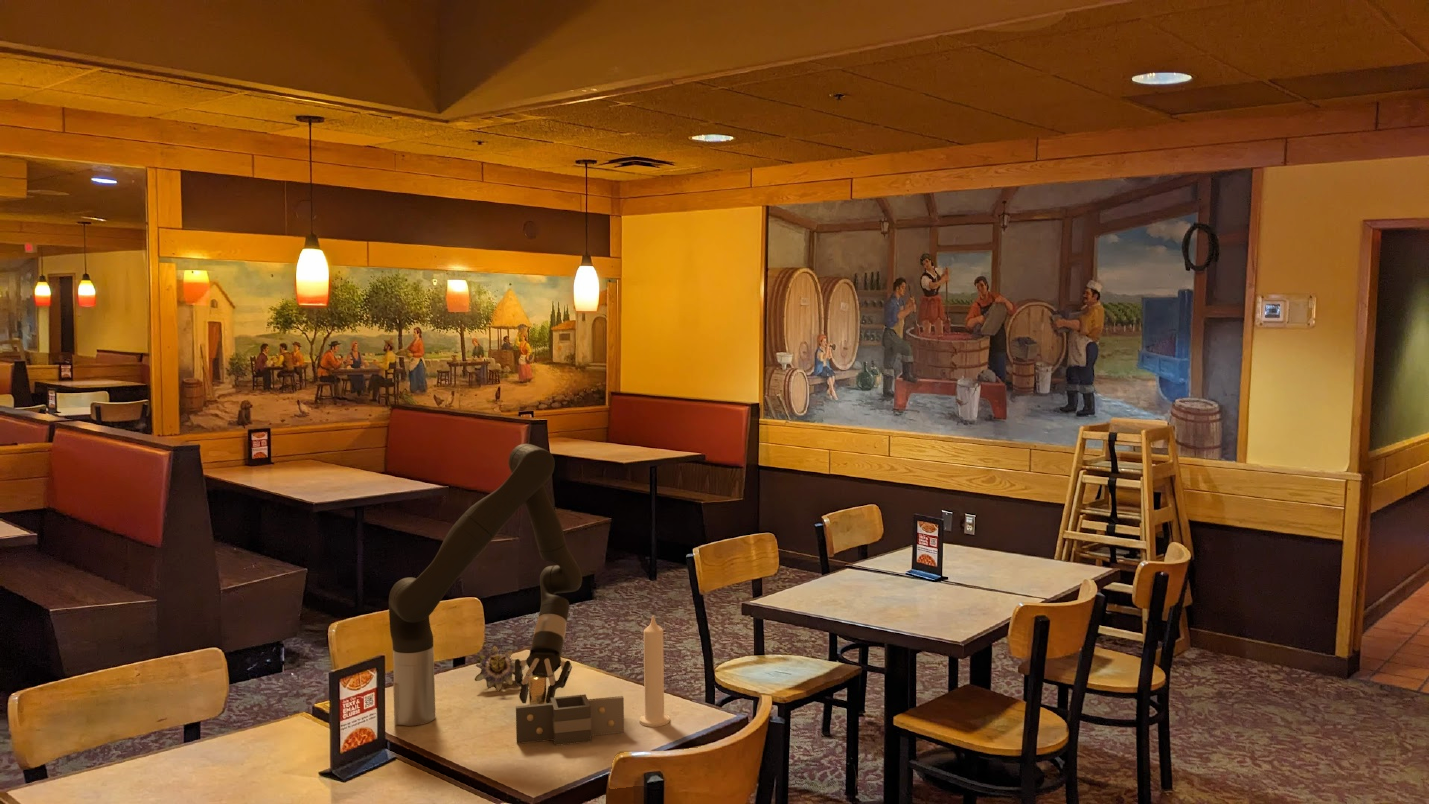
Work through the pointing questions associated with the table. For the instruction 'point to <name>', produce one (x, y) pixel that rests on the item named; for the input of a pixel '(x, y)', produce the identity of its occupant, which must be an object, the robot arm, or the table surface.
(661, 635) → the candle
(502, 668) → the passion flower
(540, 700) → the amber cylinder
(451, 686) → the table surface
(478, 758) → the table surface
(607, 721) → the hinge
